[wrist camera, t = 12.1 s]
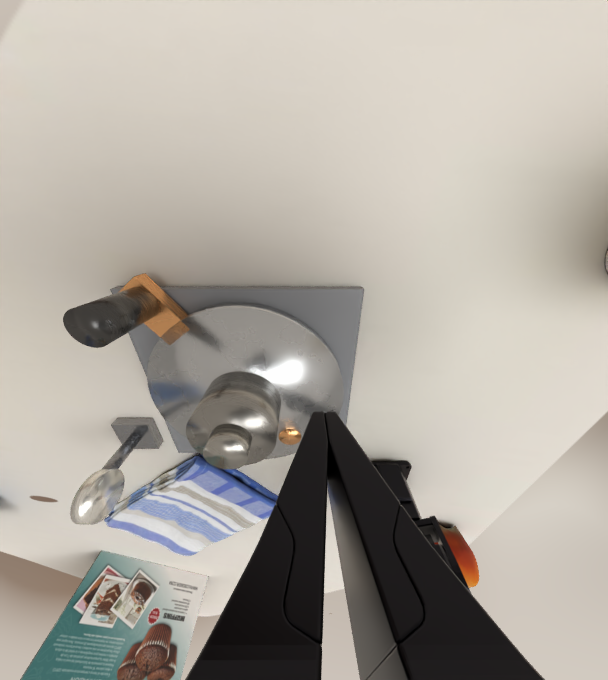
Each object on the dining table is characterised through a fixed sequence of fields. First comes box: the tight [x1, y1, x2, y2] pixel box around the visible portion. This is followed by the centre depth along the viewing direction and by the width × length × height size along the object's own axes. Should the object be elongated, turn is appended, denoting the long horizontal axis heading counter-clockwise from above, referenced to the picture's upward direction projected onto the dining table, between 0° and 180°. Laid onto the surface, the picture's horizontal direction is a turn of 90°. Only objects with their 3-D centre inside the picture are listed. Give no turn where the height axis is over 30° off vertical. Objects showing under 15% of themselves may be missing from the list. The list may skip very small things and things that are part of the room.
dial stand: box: [71, 418, 163, 524], centre depth 21 cm, size 4×4×9 cm
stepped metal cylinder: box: [186, 371, 281, 469], centre depth 18 cm, size 7×7×6 cm
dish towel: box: [104, 455, 278, 556], centre depth 33 cm, size 17×24×3 cm
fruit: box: [434, 520, 479, 588], centre depth 34 cm, size 8×8×8 cm
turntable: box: [63, 274, 344, 459], centre depth 18 cm, size 22×18×6 cm
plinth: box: [110, 287, 364, 453], centre depth 22 cm, size 20×20×1 cm
